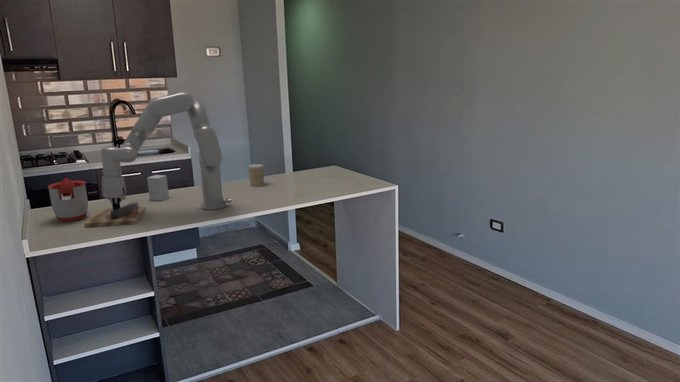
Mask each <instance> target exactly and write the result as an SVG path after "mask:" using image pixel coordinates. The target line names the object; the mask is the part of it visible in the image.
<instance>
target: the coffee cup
mask: <svg viewBox="0 0 680 382" xmlns="http://www.w3.org/2000/svg"><path fill="white" fill-rule="evenodd" d="M247 168H248V175H249V177H248V178H249V182H250V187H255V188H257V187H263V186H264V183H265V181H264V178H265V176H264V175H265V170H264V169H265V166H264V164H261V163H254V164H249V165H248V167H247Z"/></svg>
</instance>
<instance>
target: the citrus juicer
mask: <svg viewBox="0 0 680 382" xmlns="http://www.w3.org/2000/svg"><path fill="white" fill-rule="evenodd" d="M47 188H48V192H49V199H50V203H51V208H52V210H53V213H54V215H55V217H56V219H57V220H58V221H59V222H61V223H66V222H73V221H74V222H76V221H80V220H81V221H82V220H83V219H85V218H86V217H87V213H88V208H89V207H88V206H89V200H88V195H87V187H86V181H84V180H71V179H69V178H68V177H65V178H64V179H62V181H59V182H55V183H51V184H49V185H47Z"/></svg>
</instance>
